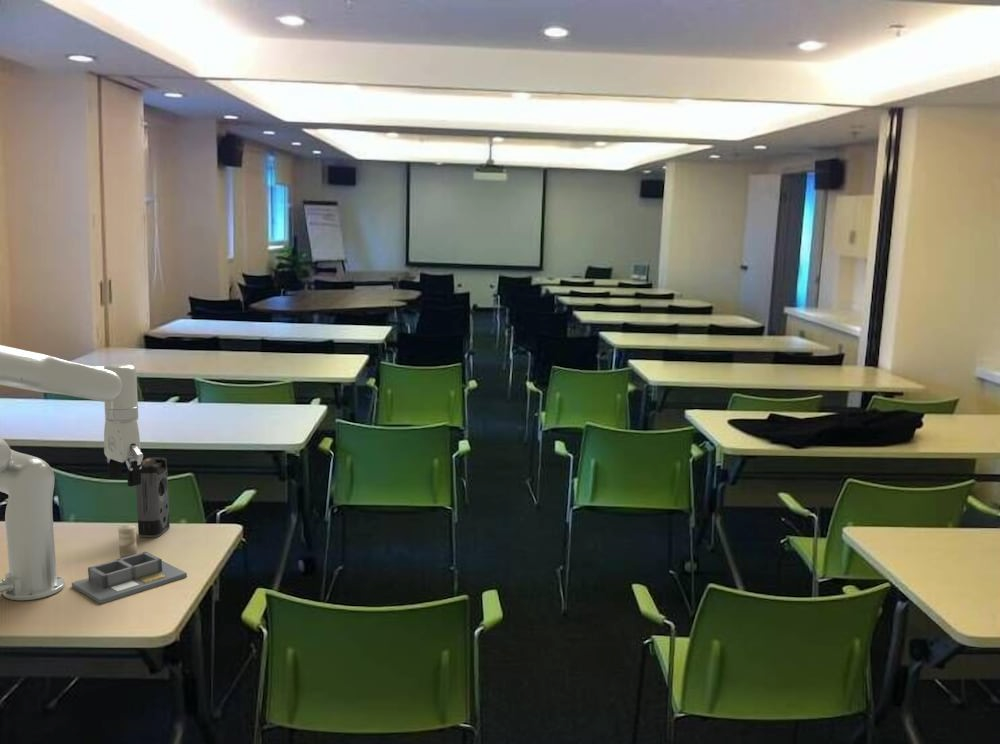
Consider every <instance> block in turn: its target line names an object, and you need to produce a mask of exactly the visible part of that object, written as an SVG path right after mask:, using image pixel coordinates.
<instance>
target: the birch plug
mask: <svg viewBox="0 0 1000 744" xmlns="http://www.w3.org/2000/svg"><path fill="white" fill-rule="evenodd" d="M136 528H137V527H136V525H131V524H128V525H127V524H126V525H122V526H120V527H118V529H117V531H118V532H117V533H118V546H119V547H118V548H119V559H121V558H124V557H128V556H131V555H135V554H138V547H137V529H136Z"/></svg>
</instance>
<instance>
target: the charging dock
mask: <svg viewBox="0 0 1000 744" xmlns="http://www.w3.org/2000/svg"><path fill="white" fill-rule="evenodd" d="M87 573H88V577H87V578H83V579H80V580H76V581H74V582H71V587H72V588H74V590H76V591H78V592H79V593H81V592H82V593H81V594H83V595H85V596H87V597H88V598H90V599H92V600H93V601H94V600H95V601H94V602H96V603H98V604H99V603H100V605H102V603H103V604H105V603H108V602H112V601H115V600H117V599H121V598H124V597H127V596H131V595H133V594H137V593H141V592H143V591H147V590H149V589H153V588H156V587H158V586H162V585H165V584H169V583H172V582H174V581H178V580H181V579H185V578H187V577H188V575H187V573H188V572H186V571H185V570H184V571H183V569H182V570H181V569H179V568H178V567H175V566H173V565H171V564H169V563H168V562H166V561H164V560H162V559H161V558H160V557H158V556H155V555H153V554H151V553H150V552H148V551H143V552H139V553H137V554H135V555H131V556H128V557H124V558H121V559H120V558H119V559H118V558H117V559H115V560H111V561H107V562H104V563H99V564H97V565H93V566H90V567H89V566H88V567H87Z"/></svg>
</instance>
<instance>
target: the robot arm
mask: <svg viewBox="0 0 1000 744" xmlns="http://www.w3.org/2000/svg"><path fill="white" fill-rule="evenodd" d="M137 379H138V377H137V369H136V367H135V366H134V365H133V364H131V363H112V364H107V365H103V366H101V365H100V366H98V365H97V366H96V365H93V366H92V365H87V364H82V363H77V362H73V361H70V360H69V361H68V360H65V359H61V358H59V357H56V356H52V355H48V354H45V353H40V352H37V351H30V350H27V349H21V348H17V347H12V346H8V345H3V344H0V385H1V386H6V387H10V388H11V387H12V388H15V389H16V388H17V389H22V390H26V391H33V392H38V393H46V394H47V393H48V394H58V395H64V396H71V397H77V398H82V399H87V400H92V401H93V400H94V401H97V402H103V403H104V418H105V420H104V429H103V451H104V452H103V453H104V455H105V457H106V462H107V470H108V471H107V472H108V478H109V479H111V480H113V479H116V478H121V477H122V475H123V471H122V470H123V469H122V468H123V467H122V463H124V462H125V463H126V466H127V469H128V470H126V476H127V477H126V478H127V486H128V487H131V488H132V487H136V485H140V484H141V468H142V466H141V465H142V461H143V460H144V459H143V458H144V454H143V452H142V450H141V439H140V432H139V425H138V420H139V402H138V380H137ZM54 488H55V473H54V470H53V468H52V467H51V466H50V465H49V463H47V462H46V460H43V459H42V458H40V457H37V456H33V455H30V454H27V453H22V452H19V451H16V450H14V449H11V447H10V445H9V444H8V443H7V442H6V440H5V439H3V438H2V437H1V436H0V492H1V493H4V494H6V495H8V500H7V504H6V507H5V511H4V512H5V515H4V522H5V523H4V524H5V530H6V532H5V535H6V547H7V558H8V559H7V560H8V570H9V571H8V572H6V573H4V578H1V579H0V593H2V595H3V597H5V598H6V599H9V600H13V601H31V600H32V601H34V600H39V599H42V598H47V597H49V596H52V595H54V594H56V593H58V592H60V591H61V590H63V588H65V586H66V584H65V583H66V582H65V579H64V578H63V577H62V576H60V575H57V574H58V573H57V557H56V545H55V543H56V542H55V529H54V528H55V527H54V518H53V515H54V514H53V495H54Z"/></svg>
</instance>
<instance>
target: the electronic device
mask: <svg viewBox="0 0 1000 744" xmlns="http://www.w3.org/2000/svg"><path fill="white" fill-rule="evenodd" d="M167 462H168V460H167V458H165V457H158V456H157V457H156V456H155V457H153V456H152V457H146V458H145V459H142V465H141V466H142V468H141V484H140V485H135V492H136V493H135V494H136V496H135V497H136V510H137V511H136V513H137V532H138V536H139V537H140V538H146V537H149V538H150V539H151V538H153V537H155V538H158V536H159V537H160V536H161V535H162V534H164V533H165V532H166V531H167V530H168V529H169V528H170V526H171V525H170V523H171V522H170V508H169V505H170V503H169V502H170V501H169V485H168V481H169V479H168V463H167ZM153 539H154V538H153Z"/></svg>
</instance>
